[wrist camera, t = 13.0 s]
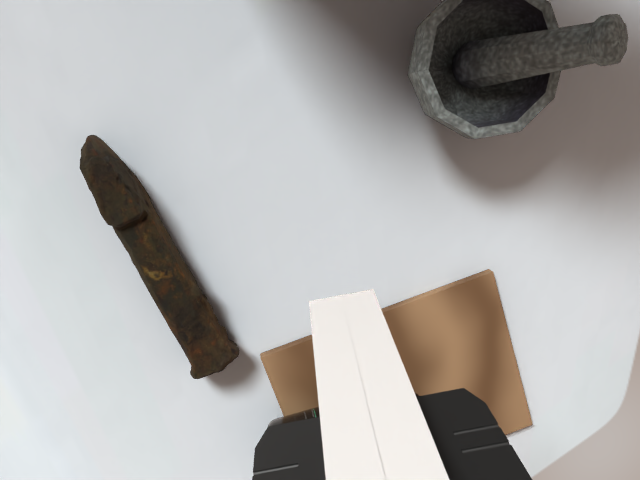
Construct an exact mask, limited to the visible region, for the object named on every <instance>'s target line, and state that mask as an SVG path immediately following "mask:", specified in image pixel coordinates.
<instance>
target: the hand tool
mask: <svg viewBox="0 0 640 480" xmlns="http://www.w3.org/2000/svg"><path fill="white" fill-rule="evenodd" d="M80 170H81V172H82V174H83V176H84V178H85V180H86V182H87V185H88V187H89V189H90V191H91V192H92V194H93V196H94V198H95V201H96V204H97V206H98V208H99V211H100V213H101V215H102V217H103V218H104V220H105V221H106V223H107V224H108V225H111V226H113V228H114V230H115V233H116V234H117V236H118V237H119V239H120V240H121V242H122V244H123V245H124V247H125V249H126V250H127V252H128V253H129V255H130V257H131V260H132V262H133V264H134V265H135V267H136V268H137V270H138V272H139V274H140V276H141V278H142V280H143V282H144V284H145V285H146V287H147V289H148V291H149V292H150V294H151V296H152V298H153V299H154V301H155V303H156V305H157V306H158V308H159V310H160V312H161V313H162V315H163V317H164V318H165V320H166V322H167V324H168V326H169V328H170V329H171V331H172V333H173V334H174V336H175V337H176V339H177V340H178V342H179V344H180V345H181V347H182V349H183V351H184V352H185V354H186V356H187V358H188V360H189V362H190V364H191V371H190V374H191V376H192V377H193V378H194V379H199V378H203V377H205V376H208V375H211V374H213V373H216V372H220V371H222V370H224V369H225V367H226V366H227V365H228V364H229V363H231V362H232V361H233V360H234V359H235V358H237V357H238V355H239V348H238V347H237V344H236V343H234V342H233V341H231V340H228V336H227V331H226V328H225V327H223V326H221V325H220V324H219V322H218V319H217V317H216V315H215V314H214V312H213V308H212V307H211V305H210V304H209V302H208V301H207V298H206V296H205V294H202V291H201V289H200V288H199V287H198V285H197V283H196V281H195V279H194V277H193V275H192V273H191V271H190V270H189V269H188V267H187V265H186V264H185V262H184V260H183V259H182V257H181V255H180V253H179V252H178V250H177V248H176V247H175V245H174V243H173V241H172V240H171V238H170V236H169V234H168V232H167V230H166V229H165V227H164V226H163V224H162V222H161V220H160V218H159V217H158V215H157V213H156V211H155V210H154V208H153V206H152V204H151V201H150V197H149V196H148V194H147V192H146V191H145V189H144V188H143V186H142V185H141V183H140V182H139V181H138V179H137V178H136V176H135V175H134V173H133V172H132V171H130V170H129V168H128V167H127V166H126V165H125V163H124V162H123V161H122V160H121V159H120V158H119V157H118V156H117V155H116V154H115V153H114V151H113V150H111V149H110V148H109V147H108V146H107V145H106V144H105V143H104V141H103V140H101V139H100V138H99V137H97V136H96V135H90V136H88V137H87V139H86V142H85V144H84V145H83V147H82V149H81V159H80Z"/></svg>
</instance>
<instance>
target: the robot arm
mask: <svg viewBox="0 0 640 480" xmlns="http://www.w3.org/2000/svg"><path fill="white" fill-rule="evenodd" d="M309 308H310V318H311V329H312V339H313V350H314V360H315V371H316V381H317V392H318V402H319V413H320V417H316V418H311V419H306V420H300V421H295V422H290V423H284V424H279V425H274V426H268V428H267V430H266V431H265V433H264V434H263V436H262V438H261V439H260V441H259V443H258V444H257V446H256V448H255V455H254V467H253V474H254V476H253V479H252V480H532V479H531V477H530V475H529V474H528V472H527V470H526V469H525V467H524V465H523V464H522V462H521V461H520V459H519V457H518V456H517V454H516V452H515V451H514V449H513V447H512V446H511V445H509V441H508V439H507V437H506V436H505V434H504V432H503V431H502V429H501V427H499V426H498V422H497V421H496V419H495V417H494V416H493V414H492V413H491V411H490V409H489V408H488V406H487V404H486V403H485V402H484V401H482V400H481V399H479V398H478V397H476V396H475V395H474V394H472V393H471V392H469V391H468V390H466V389H465V388H460V389H455V390H449V391H444V392H439V393H433V394H428V395H423V396H417V397H416V395H415V393H414V390H413V388H412V385H411V383H410V380H409V378H408V375H407V373H406V370H405V368H404V365H403V363H402V360H401V358H400V355H399V353H398V350H397V348H396V345H395V343H394V340H393V338H392V335H391V333H390V330H389V328H388V325H387V323H386V320H385V318H384V315H383V313H382V310H381V308H380V305H379V303H378V300H377V298H376V295H375V293H374V290H373V289H371V290H366V291H360V292H355V293H350V294H344V295H339V296H334V297H328V298H323V299H317V300H312V301H309Z"/></svg>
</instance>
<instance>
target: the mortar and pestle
mask: <svg viewBox="0 0 640 480" xmlns="http://www.w3.org/2000/svg"><path fill="white" fill-rule="evenodd" d="M627 42H628V34H627V28H626V24H625V23H624V21H623V20H622V18H621V17H620V15H618V14H612V15H605V16H601V17H599V18H598V19H597V20H596V21H595V22H594V23H588V24H582V25H575V26H569V27H562V28H559V27H558V24H557V21H556V18H555V15H554V13H553V10H552V7H551V4H550V3H549V2H548V1H546V0H444V1H443V2H442V3H441V4H440V5H439V6H438V7H437V8H436V9H435V10H434V11H433V12H432V13H431V14H430V15H429V16H428V17H427V18H426V19H425V20H424V21H423V22H422V23H421V24H420V25H419V27H418V28H417V29H416V34H415V40H414V45H413V50H412V55H411V61H410V66H409V71H408V76H409V78H410V81H411V83H412V85H413V88H414V90H415V93H416V95H417V97H418V100H419V102H420V104H421V107H422V109H423V111H424V114H425V115H427V116H429V117H431V118H432V119H434V120H436V121H438V122H439V123H441V124H443V125H445V126H446V127H448V128H450V129H452V130H453V131H455V132H457V133H459V134H461V135H462V136H464V137H466V138H471V139H478V138H484V137H490V136H496V135H503V134H509V133H515V132H520V131H521V130H522V129H523V128H524V127H525V126H526V125H527V124H528V123H529V122H530V121H531V120H532V119H533V118H534V117H535V116H536V115H537V114H538V113H539V112H540V111H541V110H542V109H543V108H545V107H546V106H547V105H548V104H549V103H550V102H551V101H552V100H553V99H554V97H555V93H556V88H557V84H558V80H559V76H560V72H561V70H565V69H569V68H574V67H579V66H583V65H588V64H593V63H596V64H598V65H600V66H606V65H612V64H617V63H619V62H620V61H621V59H622V57H623V56H624V54H625V52H626V49H627Z"/></svg>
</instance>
